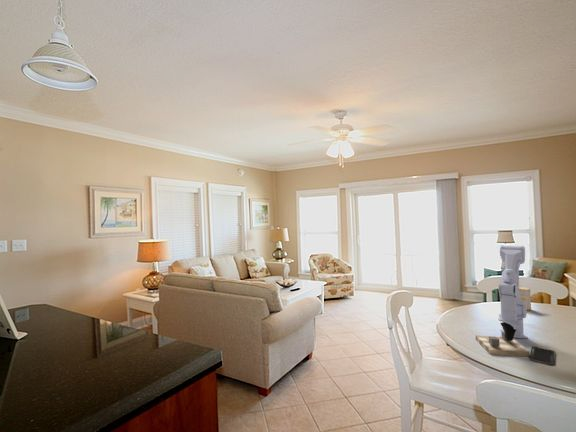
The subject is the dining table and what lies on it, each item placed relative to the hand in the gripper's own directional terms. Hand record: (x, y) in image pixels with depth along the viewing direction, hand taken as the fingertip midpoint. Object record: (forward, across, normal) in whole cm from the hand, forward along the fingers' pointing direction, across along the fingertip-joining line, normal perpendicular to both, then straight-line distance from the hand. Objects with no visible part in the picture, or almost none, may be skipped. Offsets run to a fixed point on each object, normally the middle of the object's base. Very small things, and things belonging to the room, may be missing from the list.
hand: (509, 339), depth 137 cm
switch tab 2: (+1, -3, 0) cm, 3 cm away
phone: (+4, +8, +8) cm, 12 cm away
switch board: (+3, +1, -4) cm, 5 cm away
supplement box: (+3, -62, +34) cm, 71 cm away
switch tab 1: (+1, +4, -8) cm, 9 cm away
